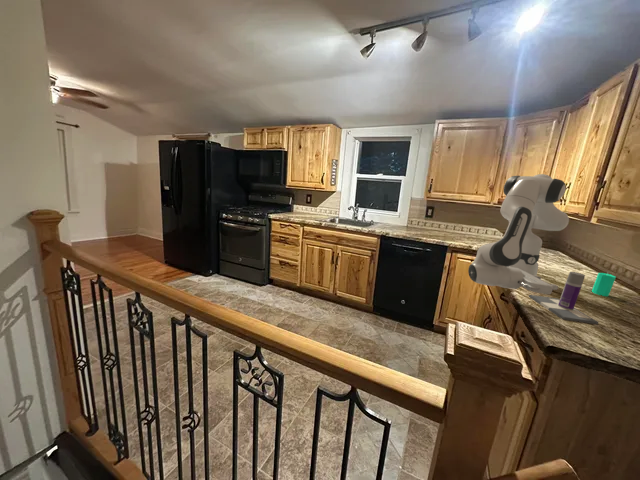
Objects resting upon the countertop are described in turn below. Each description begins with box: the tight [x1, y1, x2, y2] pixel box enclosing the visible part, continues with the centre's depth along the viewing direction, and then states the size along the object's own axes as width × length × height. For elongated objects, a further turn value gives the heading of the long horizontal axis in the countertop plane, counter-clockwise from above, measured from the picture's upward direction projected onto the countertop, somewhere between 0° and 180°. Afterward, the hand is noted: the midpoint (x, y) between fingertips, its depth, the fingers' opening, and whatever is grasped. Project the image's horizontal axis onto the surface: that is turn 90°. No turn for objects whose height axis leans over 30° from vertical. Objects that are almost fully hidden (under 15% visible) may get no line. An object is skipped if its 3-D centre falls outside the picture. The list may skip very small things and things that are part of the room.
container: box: [558, 271, 586, 310], centre depth 103 cm, size 5×5×15 cm
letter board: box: [528, 294, 599, 325], centre depth 105 cm, size 20×12×1 cm, turn 172°
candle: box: [591, 272, 617, 297], centre depth 127 cm, size 6×6×12 cm
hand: (547, 282), depth 104 cm, fingers open, 8 cm apart
